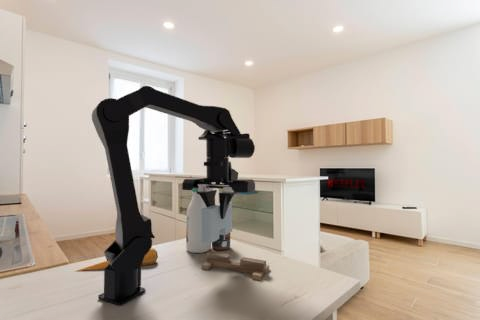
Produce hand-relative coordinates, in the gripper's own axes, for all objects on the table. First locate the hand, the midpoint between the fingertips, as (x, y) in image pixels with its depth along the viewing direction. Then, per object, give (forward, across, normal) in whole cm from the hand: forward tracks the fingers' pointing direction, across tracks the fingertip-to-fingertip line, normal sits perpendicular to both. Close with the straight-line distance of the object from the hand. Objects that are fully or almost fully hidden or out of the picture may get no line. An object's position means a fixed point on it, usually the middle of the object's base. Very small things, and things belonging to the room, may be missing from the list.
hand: (218, 218), depth 67 cm
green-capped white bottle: (+13, +13, -11) cm, 21 cm away
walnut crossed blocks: (+13, -4, -2) cm, 14 cm away
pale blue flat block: (+5, 0, 0) cm, 5 cm away
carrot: (+13, +25, +9) cm, 30 cm away
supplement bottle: (+13, +7, -15) cm, 22 cm away
